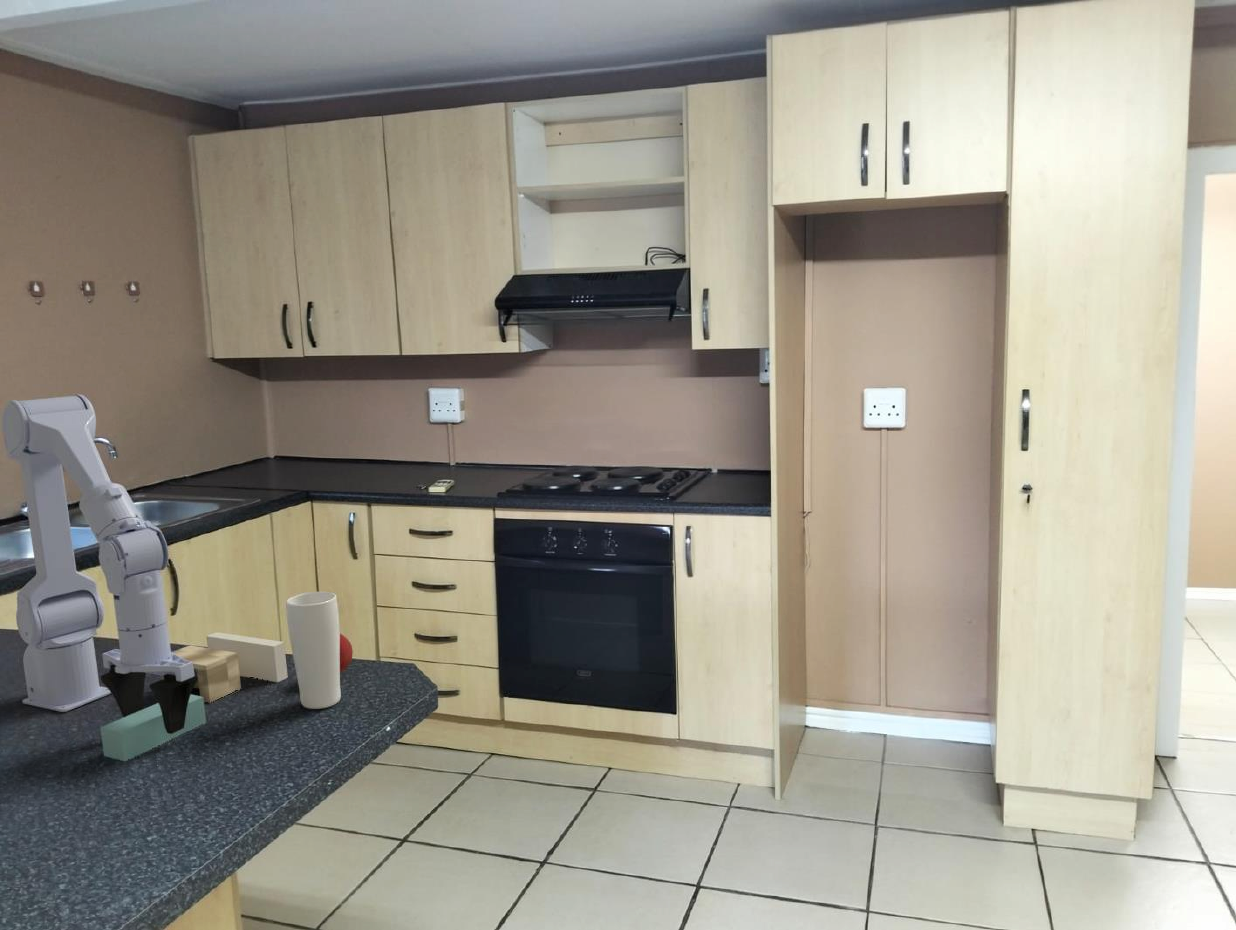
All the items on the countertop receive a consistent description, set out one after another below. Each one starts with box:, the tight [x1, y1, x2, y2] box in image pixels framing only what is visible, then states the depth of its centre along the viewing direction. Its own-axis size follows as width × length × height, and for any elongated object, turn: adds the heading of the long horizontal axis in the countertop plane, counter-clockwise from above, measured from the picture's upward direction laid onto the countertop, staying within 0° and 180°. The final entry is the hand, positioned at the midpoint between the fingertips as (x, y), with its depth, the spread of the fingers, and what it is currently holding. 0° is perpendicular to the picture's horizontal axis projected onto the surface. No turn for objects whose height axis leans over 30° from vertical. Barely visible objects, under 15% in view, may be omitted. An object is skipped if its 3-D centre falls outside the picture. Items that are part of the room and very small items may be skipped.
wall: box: [205, 631, 289, 683], centre depth 150 cm, size 14×2×6 cm, turn 63°
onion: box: [340, 633, 354, 675], centre depth 146 cm, size 6×6×8 cm
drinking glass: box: [285, 591, 342, 710], centre depth 136 cm, size 7×7×15 cm
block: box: [159, 645, 242, 704], centre depth 143 cm, size 10×6×6 cm, turn 63°
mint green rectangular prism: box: [100, 694, 207, 762], centre depth 127 cm, size 4×12×4 cm, turn 152°
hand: (155, 726), depth 127 cm, fingers open, 7 cm apart
